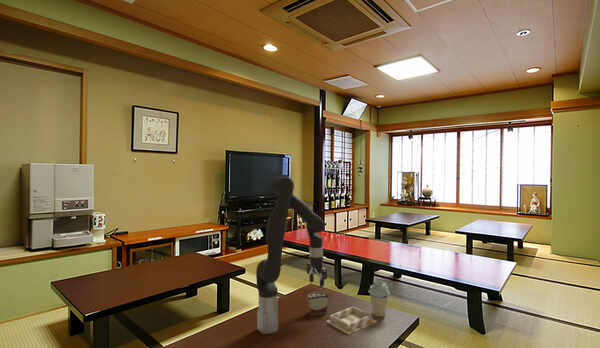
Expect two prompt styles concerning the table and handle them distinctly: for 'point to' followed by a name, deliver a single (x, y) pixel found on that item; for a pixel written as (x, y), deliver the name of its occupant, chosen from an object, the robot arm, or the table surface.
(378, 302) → the ice cream cone
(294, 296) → the table surface
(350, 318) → the holder
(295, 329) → the table surface
